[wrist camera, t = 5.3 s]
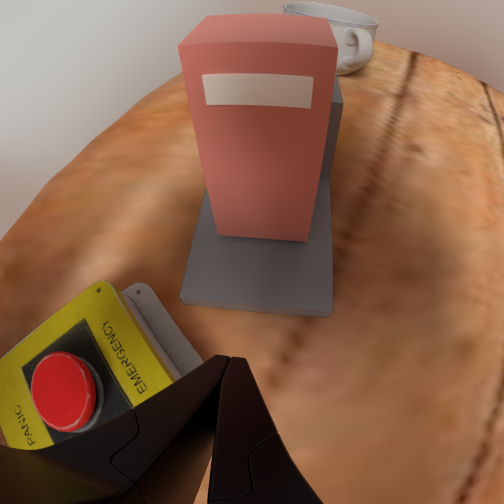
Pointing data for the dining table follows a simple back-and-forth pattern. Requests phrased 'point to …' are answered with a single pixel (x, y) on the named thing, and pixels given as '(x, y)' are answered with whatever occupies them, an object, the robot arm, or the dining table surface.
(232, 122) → the pink tall block
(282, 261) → the bookend
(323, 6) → the teacup
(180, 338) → the emergency button
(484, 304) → the dining table surface
